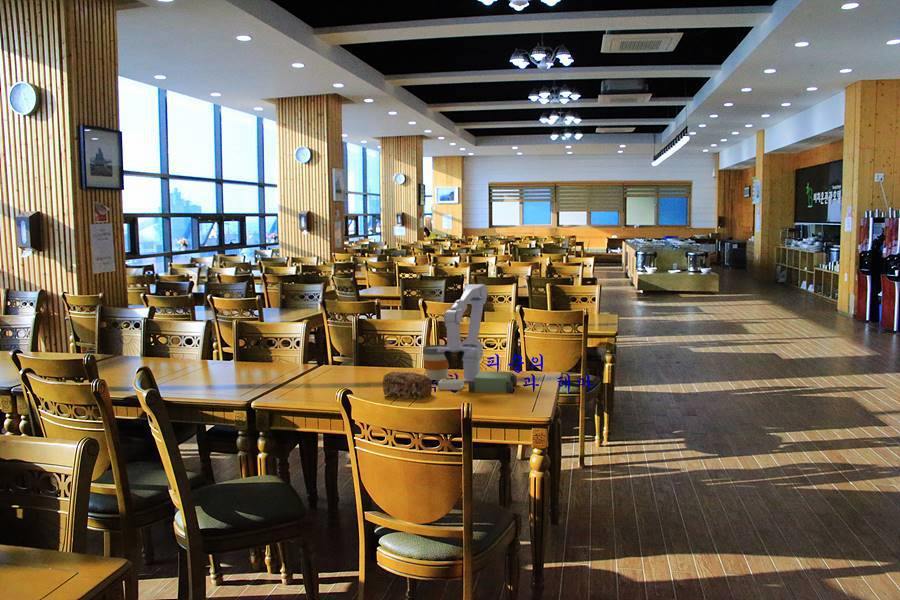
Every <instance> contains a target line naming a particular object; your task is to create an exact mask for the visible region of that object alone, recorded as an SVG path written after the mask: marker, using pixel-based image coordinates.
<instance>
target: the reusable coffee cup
mask: <svg viewBox="0 0 900 600" xmlns="http://www.w3.org/2000/svg"><path fill="white" fill-rule="evenodd" d="M438 347H448V346H447V344H430V345H428V344H427V345H425V346H423V347H422V354H423V363H424V370H425V371H426V376H427V377H429V378H430V379H431V381H432V380H439V381H440V380H441V379H445V378H447V379H448V372H449V371H448V369H450V368H449V364H448V361H447V359H446V357H445V356H444V353H445V352H438V350H437V348H438ZM445 380H446V379H445Z"/></svg>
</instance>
